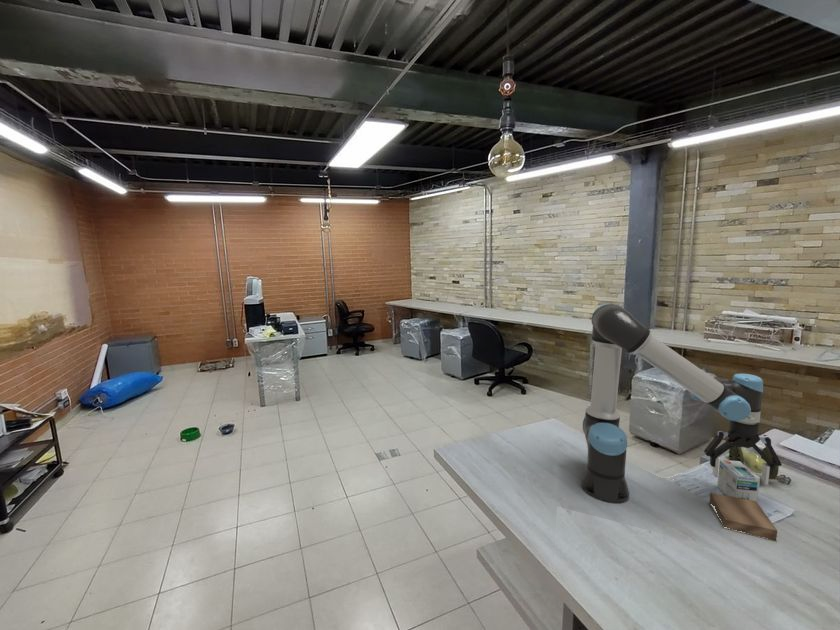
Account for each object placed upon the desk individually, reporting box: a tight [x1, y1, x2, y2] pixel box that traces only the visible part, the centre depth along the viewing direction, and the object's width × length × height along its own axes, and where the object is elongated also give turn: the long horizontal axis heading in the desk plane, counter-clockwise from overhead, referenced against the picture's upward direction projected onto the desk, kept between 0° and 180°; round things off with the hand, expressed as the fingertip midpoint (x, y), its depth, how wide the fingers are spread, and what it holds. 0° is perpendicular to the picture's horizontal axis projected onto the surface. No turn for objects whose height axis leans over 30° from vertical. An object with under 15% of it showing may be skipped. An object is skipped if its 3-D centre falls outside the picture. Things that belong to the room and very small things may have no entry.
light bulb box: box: [717, 459, 761, 504], centre depth 127 cm, size 11×7×11 cm, turn 168°
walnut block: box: [708, 492, 778, 542], centre depth 115 cm, size 12×14×5 cm
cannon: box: [727, 446, 780, 480], centre depth 146 cm, size 25×12×11 cm, turn 158°
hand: (739, 479), depth 127 cm, fingers open, 13 cm apart
